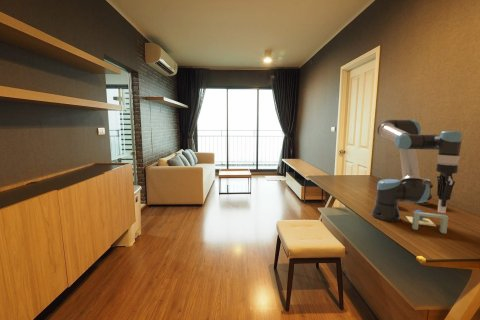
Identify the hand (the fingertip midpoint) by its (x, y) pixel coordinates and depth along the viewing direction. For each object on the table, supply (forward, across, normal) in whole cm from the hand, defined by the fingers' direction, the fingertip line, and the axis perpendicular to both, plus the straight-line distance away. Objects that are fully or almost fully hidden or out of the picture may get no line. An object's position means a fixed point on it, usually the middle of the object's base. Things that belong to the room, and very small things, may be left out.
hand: (441, 212), depth 117 cm
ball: (+12, +31, 0) cm, 33 cm away
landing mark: (+14, +27, 0) cm, 31 cm away
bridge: (+14, +13, 0) cm, 19 cm away
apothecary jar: (+15, +70, -12) cm, 73 cm away
